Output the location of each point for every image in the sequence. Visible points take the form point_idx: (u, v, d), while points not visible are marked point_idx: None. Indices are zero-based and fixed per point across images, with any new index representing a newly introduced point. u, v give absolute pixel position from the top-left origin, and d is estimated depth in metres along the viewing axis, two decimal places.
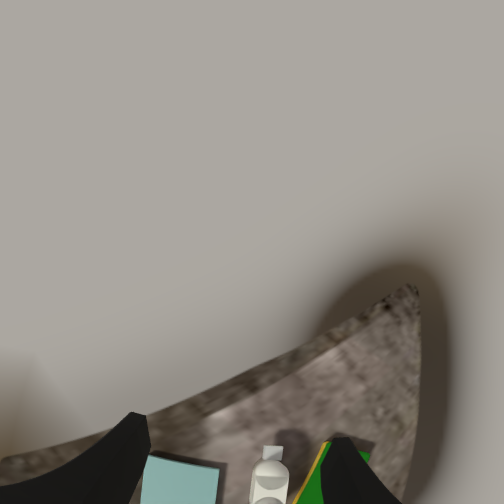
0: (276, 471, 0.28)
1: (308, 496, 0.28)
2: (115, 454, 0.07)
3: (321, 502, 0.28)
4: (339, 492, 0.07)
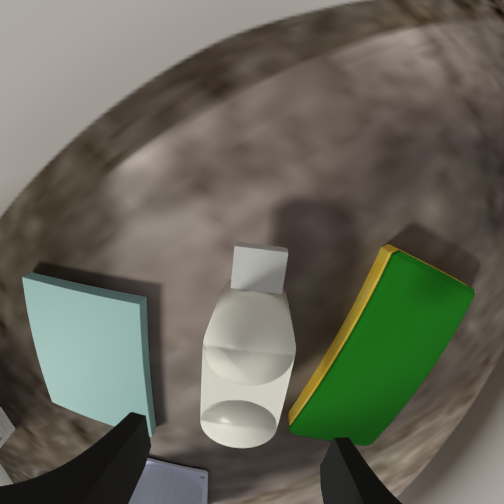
0: (260, 336, 0.12)
1: (338, 385, 0.16)
2: (115, 454, 0.07)
3: (364, 396, 0.16)
4: (339, 492, 0.07)
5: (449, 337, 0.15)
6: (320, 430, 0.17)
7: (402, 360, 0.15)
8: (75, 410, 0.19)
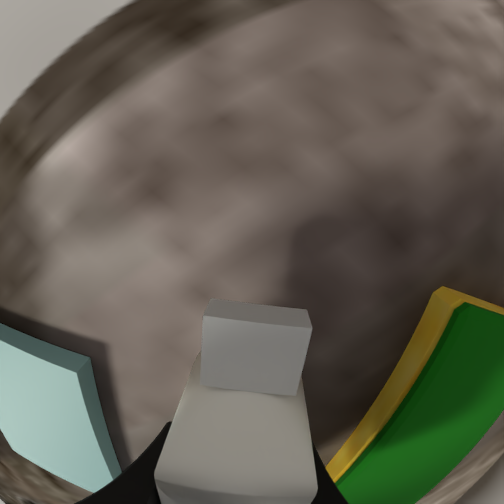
0: (253, 482, 0.05)
1: (366, 479, 0.09)
2: None
3: (398, 481, 0.09)
4: None
5: None
6: None
7: (452, 438, 0.09)
8: (37, 463, 0.12)
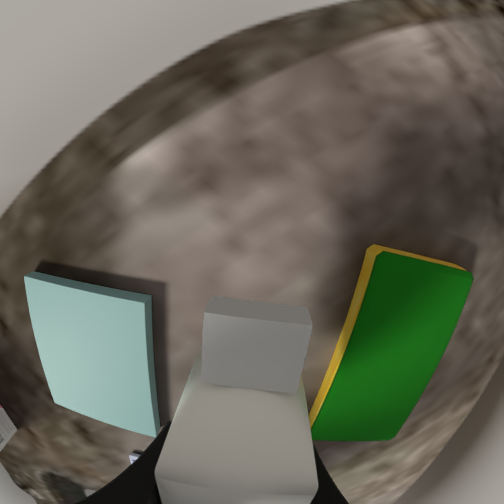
0: (254, 479, 0.05)
1: (347, 390, 0.16)
2: None
3: (375, 396, 0.16)
4: None
5: (453, 325, 0.15)
6: (339, 433, 0.17)
7: (407, 356, 0.15)
8: (78, 411, 0.19)
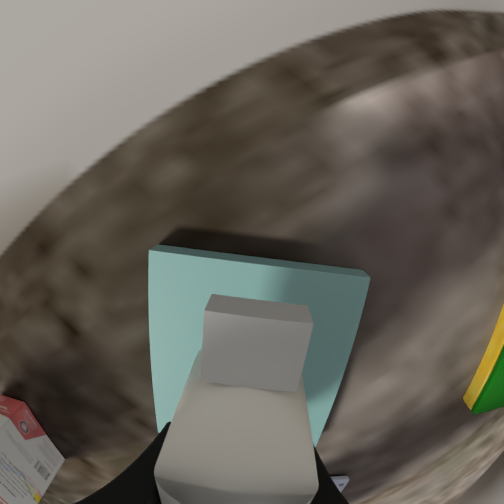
0: (254, 478, 0.05)
1: None
2: None
3: None
4: None
5: None
6: (494, 401, 0.14)
7: None
8: None
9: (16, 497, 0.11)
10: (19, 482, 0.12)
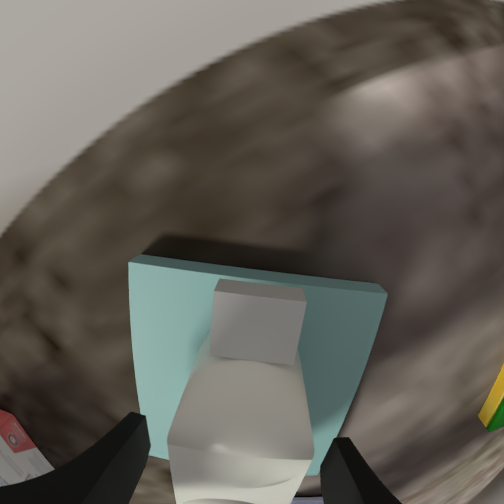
0: (257, 441, 0.06)
1: None
2: (115, 454, 0.07)
3: None
4: (339, 492, 0.07)
5: None
6: None
7: None
8: None
9: None
10: None
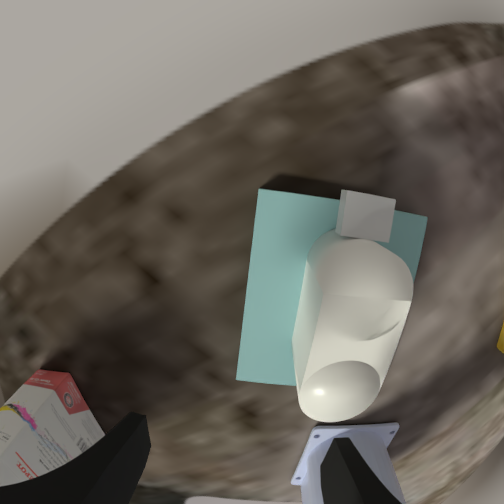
0: (383, 281, 0.11)
1: None
2: (115, 454, 0.07)
3: None
4: (339, 492, 0.07)
5: None
6: None
7: None
8: (278, 381, 0.18)
9: None
10: (61, 462, 0.15)
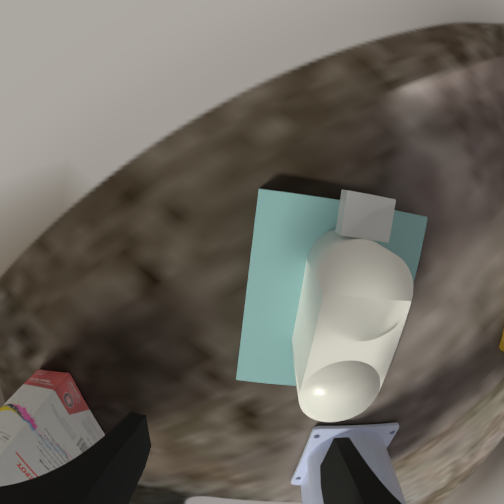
0: (383, 281, 0.11)
1: None
2: (115, 454, 0.07)
3: None
4: (339, 492, 0.07)
5: None
6: None
7: None
8: (278, 381, 0.18)
9: None
10: (61, 462, 0.15)
